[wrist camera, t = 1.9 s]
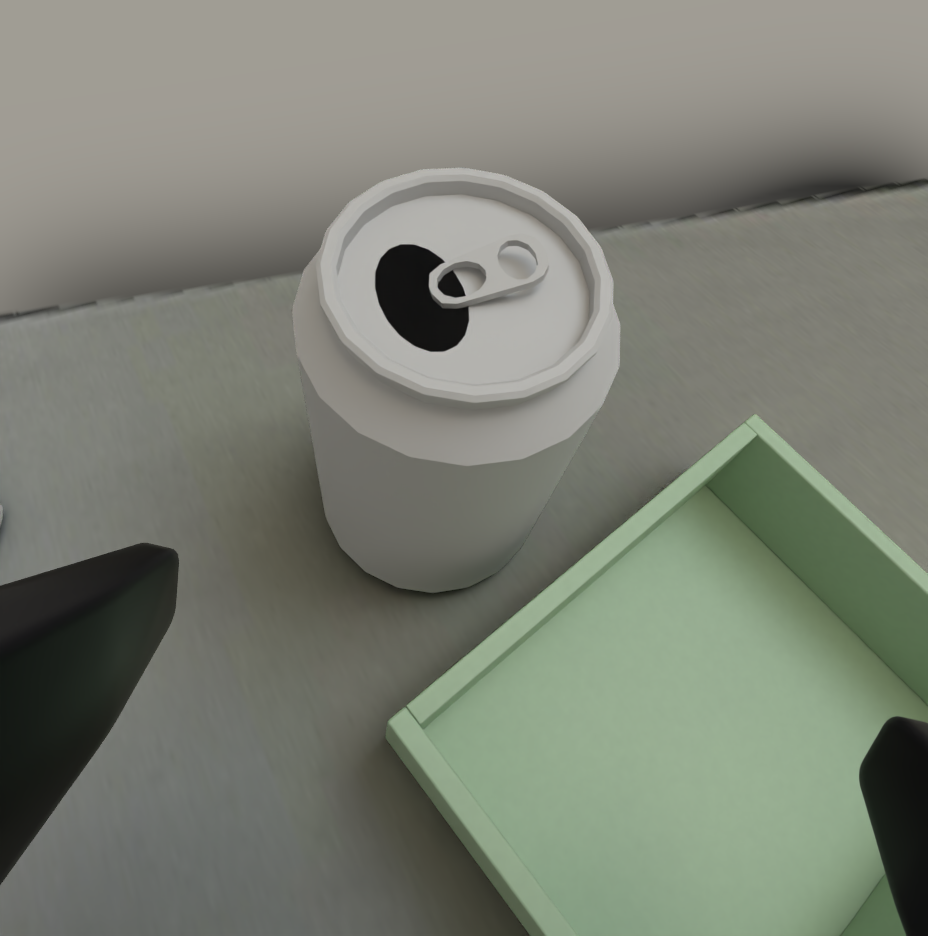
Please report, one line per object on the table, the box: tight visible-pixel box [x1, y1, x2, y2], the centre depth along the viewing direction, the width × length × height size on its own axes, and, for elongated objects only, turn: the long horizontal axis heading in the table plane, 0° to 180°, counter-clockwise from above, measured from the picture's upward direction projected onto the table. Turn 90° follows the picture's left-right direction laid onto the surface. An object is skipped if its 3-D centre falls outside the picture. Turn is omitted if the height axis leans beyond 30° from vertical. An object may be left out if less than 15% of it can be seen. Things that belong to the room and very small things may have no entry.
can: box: [292, 168, 620, 593], centre depth 19 cm, size 8×8×12 cm
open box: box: [385, 414, 928, 936], centre depth 20 cm, size 15×13×4 cm
